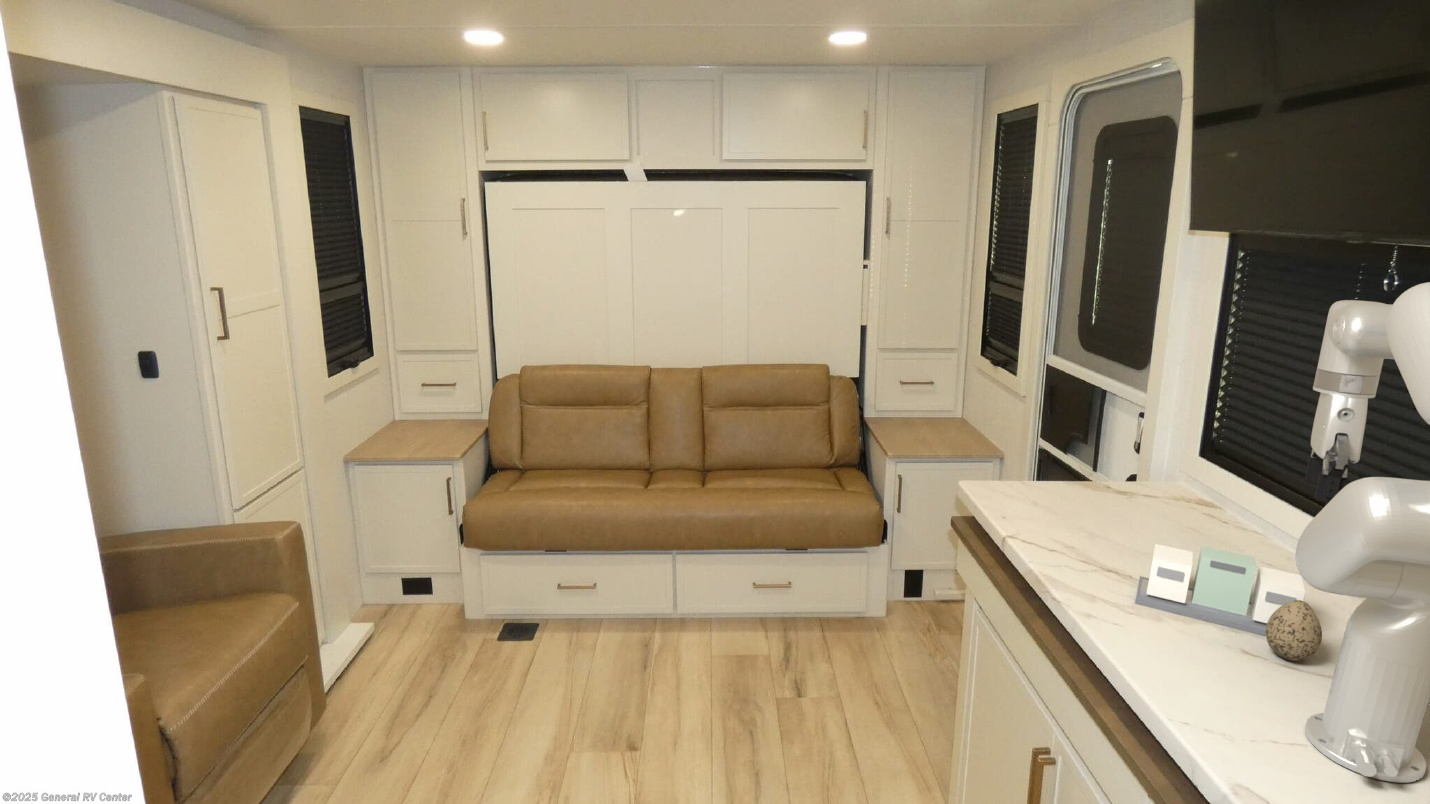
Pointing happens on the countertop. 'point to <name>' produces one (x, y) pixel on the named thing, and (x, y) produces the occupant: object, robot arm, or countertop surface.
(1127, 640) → the countertop surface
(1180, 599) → the board
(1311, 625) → the decorative egg
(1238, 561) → the block
